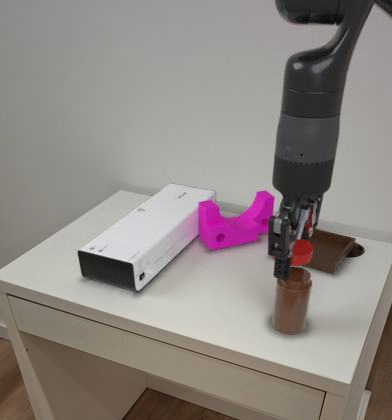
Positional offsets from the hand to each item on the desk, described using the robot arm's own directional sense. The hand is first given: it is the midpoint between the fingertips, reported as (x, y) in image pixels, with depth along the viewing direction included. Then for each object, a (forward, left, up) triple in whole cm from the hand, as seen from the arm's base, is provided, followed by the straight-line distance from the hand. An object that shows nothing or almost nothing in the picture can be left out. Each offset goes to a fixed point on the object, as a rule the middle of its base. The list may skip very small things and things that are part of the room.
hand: (290, 267), depth 71 cm
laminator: (-10, -31, -10) cm, 34 cm away
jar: (0, +1, -10) cm, 10 cm away
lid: (0, 0, +3) cm, 3 cm away
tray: (-24, -4, -10) cm, 26 cm away
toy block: (-22, -20, -10) cm, 31 cm away
